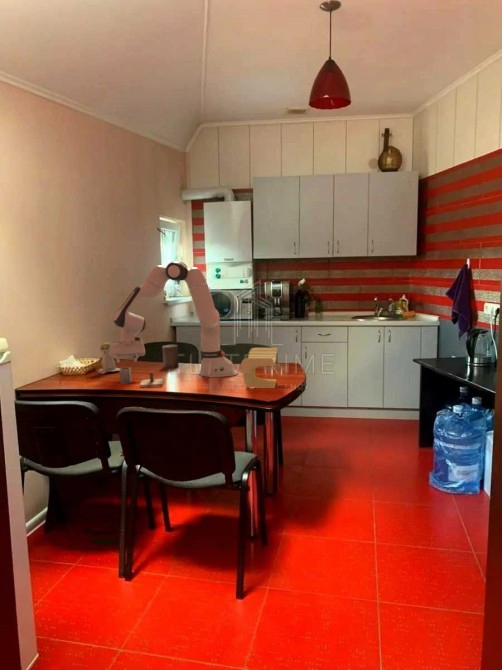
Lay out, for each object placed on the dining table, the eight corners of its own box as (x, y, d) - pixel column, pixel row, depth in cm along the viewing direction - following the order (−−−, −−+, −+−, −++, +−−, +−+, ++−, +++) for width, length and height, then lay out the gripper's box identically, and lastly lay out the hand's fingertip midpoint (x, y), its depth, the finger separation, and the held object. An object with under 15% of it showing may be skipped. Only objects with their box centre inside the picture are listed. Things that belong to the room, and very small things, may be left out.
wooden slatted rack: (249, 378, 288) (248, 347, 286) (277, 378, 286) (277, 347, 283) (241, 392, 259) (240, 358, 256) (272, 393, 257) (272, 358, 254)
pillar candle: (181, 366, 324) (180, 343, 322) (170, 369, 317) (168, 345, 315) (172, 365, 330) (170, 342, 328) (160, 367, 323) (158, 344, 321)
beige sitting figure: (122, 372, 312) (121, 342, 309) (101, 374, 306) (99, 344, 303) (118, 368, 322) (116, 340, 319) (97, 371, 316) (95, 342, 313)
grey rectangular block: (131, 381, 288) (130, 367, 287) (130, 383, 283) (129, 369, 282) (121, 381, 287) (121, 367, 286) (120, 383, 282) (119, 369, 281)
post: (163, 381, 286) (163, 370, 285) (162, 386, 274) (161, 374, 273) (142, 382, 285) (141, 370, 284) (139, 387, 273) (139, 375, 272)
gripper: (108, 339, 295) (106, 359, 287) (144, 338, 297) (143, 357, 289) (110, 345, 300) (108, 365, 292) (145, 344, 302) (145, 364, 294)
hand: (126, 361), depth 291 cm, fingers open, 8 cm apart
